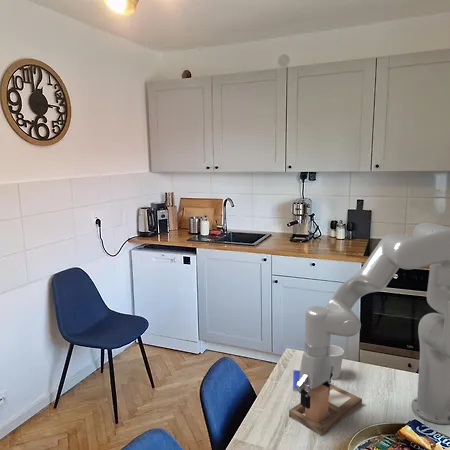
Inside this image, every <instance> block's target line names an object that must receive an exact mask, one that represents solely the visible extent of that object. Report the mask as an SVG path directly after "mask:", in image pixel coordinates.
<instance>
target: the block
mask: <svg viewBox="0 0 450 450" xmlns="http://www.w3.org/2000/svg"><path fill="white" fill-rule="evenodd" d="M309 386H310V385H309ZM307 390H308V387H305V391H306V392H307ZM309 396H310V408H309V409H307V408H306V407H305V411H304V415H305V416H306V417H308V418H310V419H311V420H313V421H315V422H317V423H318V424H321V423H323V422H324V421H325V420H327V419H328V418H329V413H328V401H329V387H327V386H325V385H323V384H321V385H319V386H318V387H316V388H314V389H312V390H311V392H310V395H309Z"/></svg>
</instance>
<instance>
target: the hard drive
mask: <svg viewBox="0 0 450 450" xmlns="http://www.w3.org/2000/svg"><path fill="white" fill-rule="evenodd" d="M292 375H293V376H292V378H293V380H292V391H293V392H299V391H298V389H297V386H296V385H297V383H298V382H299V381H300V370H297V369H295V370H293V374H292ZM307 385H309V384H308V382H307ZM304 390H305V389H304Z"/></svg>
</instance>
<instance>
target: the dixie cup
mask: <svg viewBox="0 0 450 450" xmlns="http://www.w3.org/2000/svg"><path fill="white" fill-rule="evenodd" d="M344 353H345V350H344V349H343V348H342V347H340V346H339V345H334V344H330V357H331V365H332V366H334V370H333V375H332V378H331V380H337V379H339V378H340V377H341V376H340V375H341V368H342V363H343V356H344Z"/></svg>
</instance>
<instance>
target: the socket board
mask: <svg viewBox="0 0 450 450" xmlns="http://www.w3.org/2000/svg"><path fill="white" fill-rule="evenodd" d="M362 405H363V398H361V397H359V396H358V395H357V396H356V395H355V394H352V393H351V392H348V391H347V390H344V389H342V388H340V387H338V386H336V385H334V384H332V383H330V394H329V401H328V414H331V416H330V417H328V418H327V419H325V420H324V421H322V422H321V423H320V424H318V423H317V422H315V421H313V420H311V419H310V418H308V417H306V416H305V414H303V413H304V412H305V407H304V406H302V405H301V404H300V403H298V404H297V405H295V406H294V407H292V408H290V409H289V410H288V416H289V417H290V418H292V419H293V420H295V421H297V422H298V423H300V424H301V425H303V426H305V428H308V429H309V430H311V431H313V432H314V433H316V434H318V435H319V436H323V435H324V434H325V433H326V432H328V431H329V430H331V429H332V428H333V427H335V426H336V425H337V424H338V423H340V422H341V421H342V420H343V419H345V418H346V417H348V415H350V414H351V413H353V412H354V411H355V410H356V409H358V408H360V407H361V406H362Z"/></svg>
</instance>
